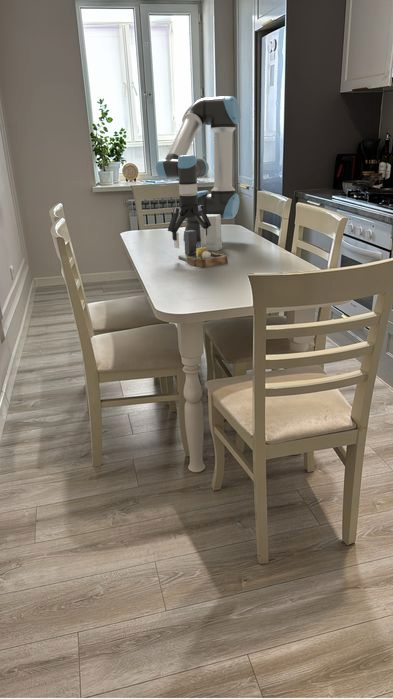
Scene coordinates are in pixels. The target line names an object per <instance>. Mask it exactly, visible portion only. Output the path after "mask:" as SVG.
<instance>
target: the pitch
mask: <svg viewBox="0 0 393 699" xmlns="http://www.w3.org/2000/svg"><path fill="white" fill-rule="evenodd" d="M210 254H211V257H210V258H209V259H203V258H202V257H199V258H197V257H196V255H190V256H189V255H186V254H181V255H177V256H178V260H182V261H184V262H186V263H187V264H189V265H192V266H197V267H200V268H203V269H204V268H205V269H206V268H210V267H214V266H220V265H225V264H228V260H229V258H228V255H227V254H222V253H215V252H210Z"/></svg>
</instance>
